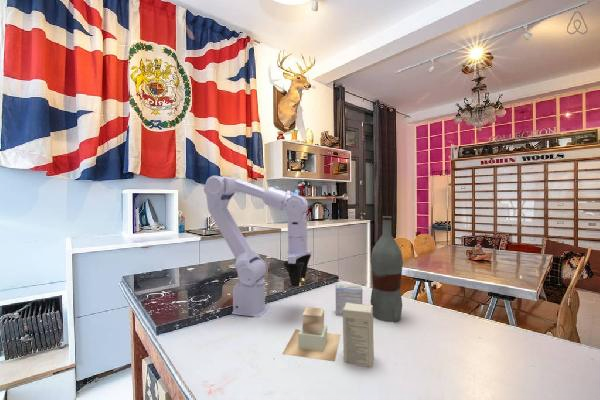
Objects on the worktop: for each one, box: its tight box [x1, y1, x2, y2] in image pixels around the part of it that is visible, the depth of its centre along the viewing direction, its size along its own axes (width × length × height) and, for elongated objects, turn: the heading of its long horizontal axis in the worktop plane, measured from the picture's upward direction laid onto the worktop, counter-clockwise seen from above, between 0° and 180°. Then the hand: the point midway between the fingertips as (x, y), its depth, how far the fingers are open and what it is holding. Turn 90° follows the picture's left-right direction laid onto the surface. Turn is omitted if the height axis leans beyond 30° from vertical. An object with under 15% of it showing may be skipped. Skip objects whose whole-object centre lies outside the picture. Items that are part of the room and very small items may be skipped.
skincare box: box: [342, 303, 375, 368], centre depth 64 cm, size 6×4×12 cm
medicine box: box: [335, 283, 364, 317], centre depth 88 cm, size 8×4×9 cm, turn 84°
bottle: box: [370, 215, 404, 323], centre depth 86 cm, size 9×9×30 cm
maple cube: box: [302, 306, 325, 335], centre depth 71 cm, size 4×4×4 cm
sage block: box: [298, 324, 328, 352], centre depth 71 cm, size 6×6×4 cm
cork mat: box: [282, 328, 341, 362], centre depth 71 cm, size 12×12×1 cm
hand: (298, 281), depth 87 cm, fingers open, 7 cm apart
